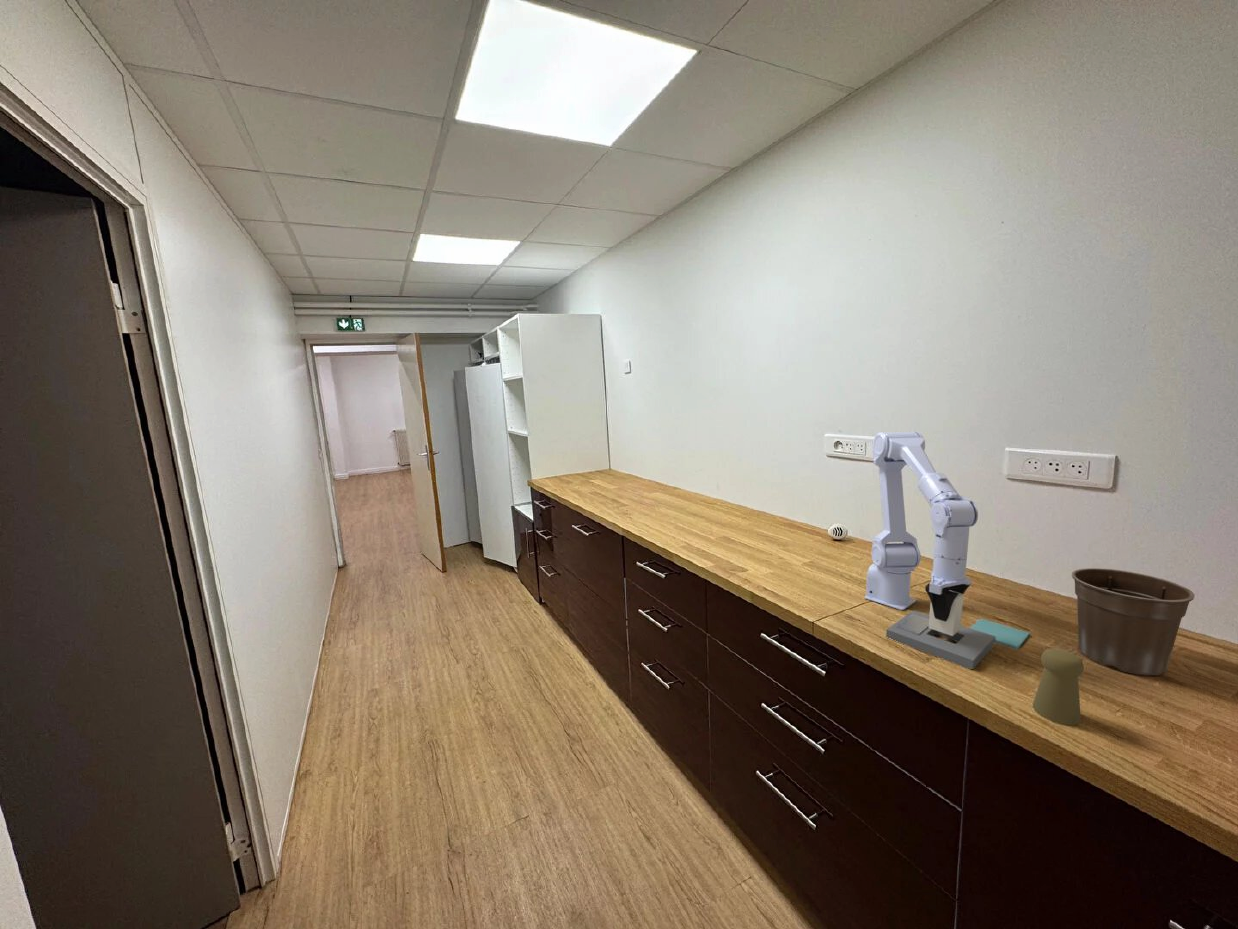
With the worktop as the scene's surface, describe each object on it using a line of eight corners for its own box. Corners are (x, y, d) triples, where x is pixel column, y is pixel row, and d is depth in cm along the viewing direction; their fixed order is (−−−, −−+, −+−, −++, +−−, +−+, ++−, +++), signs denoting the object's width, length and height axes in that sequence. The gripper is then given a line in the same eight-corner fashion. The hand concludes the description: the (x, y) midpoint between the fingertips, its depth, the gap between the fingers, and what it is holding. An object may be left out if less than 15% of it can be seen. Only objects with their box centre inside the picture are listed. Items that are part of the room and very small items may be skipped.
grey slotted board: (886, 638, 105) (886, 628, 104) (912, 618, 113) (913, 609, 113) (972, 670, 92) (973, 659, 92) (994, 645, 100) (995, 635, 100)
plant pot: (1042, 638, 102) (1050, 567, 100) (1118, 637, 102) (1128, 566, 99) (1118, 684, 86) (1129, 601, 84) (1209, 683, 86) (1224, 599, 83)
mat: (966, 632, 106) (966, 630, 106) (980, 620, 111) (980, 618, 111) (1017, 649, 99) (1017, 647, 98) (1029, 635, 104) (1029, 632, 104)
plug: (928, 628, 102) (931, 593, 101) (936, 621, 105) (939, 587, 103) (952, 636, 98) (955, 600, 97) (960, 629, 101) (963, 594, 100)
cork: (1086, 730, 75) (1094, 667, 74) (1036, 718, 78) (1043, 657, 77) (1075, 708, 80) (1082, 649, 79) (1029, 697, 84) (1035, 640, 82)
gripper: (960, 569, 91) (954, 634, 94) (984, 552, 100) (979, 611, 102) (919, 559, 97) (915, 621, 99) (946, 544, 106) (942, 601, 108)
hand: (945, 615), depth 101 cm, fingers closed on plug, 4 cm apart
